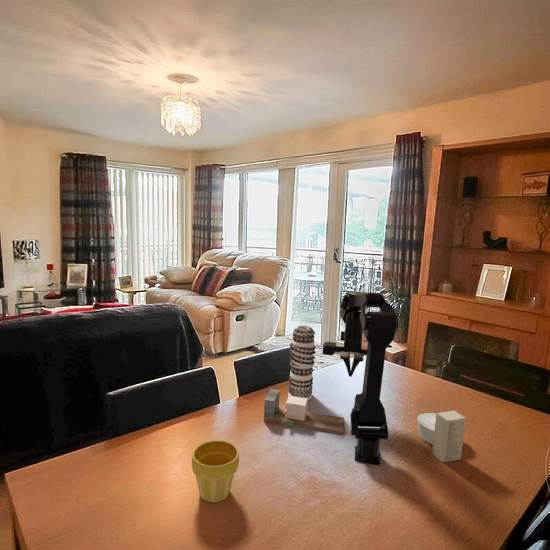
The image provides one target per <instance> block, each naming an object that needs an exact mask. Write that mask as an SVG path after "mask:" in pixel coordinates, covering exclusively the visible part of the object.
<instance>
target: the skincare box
mask: <svg viewBox="0 0 550 550" xmlns="http://www.w3.org/2000/svg"><path fill="white" fill-rule="evenodd" d="M466 420H467V418H466V417H465V416H464V415H462V414H461V413H459V412H457V410H447V411H440V412H436V422H435V431H434V440H433V445H432V450H431V454H432V455H433V456H434V457H436V458H437V460H439V461H440V462H441V463H449V462H452V461H453V462H454V461H458V460H461V459H462V452H463V445H464V435H465V429H466V427H465V426H466ZM448 461H449V462H448Z"/></svg>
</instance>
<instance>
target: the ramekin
mask: <svg viewBox="0 0 550 550" xmlns="http://www.w3.org/2000/svg"><path fill="white" fill-rule="evenodd" d="M436 413H437V412H436ZM436 413H435V412H425V413H421V414H419V415H418V416H417V419H416V420H417V421H416V422H417V427H418V434H419V436H420V438H421V439H422V440H423V441H424V442H425V441H426V442H425V443H427V444H429V443H430V444H429V445H431V444H432V446H433V440H434V431H435V422H436Z"/></svg>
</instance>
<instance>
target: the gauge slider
mask: <svg viewBox="0 0 550 550" xmlns="http://www.w3.org/2000/svg"><path fill="white" fill-rule="evenodd" d="M308 401H309V400H308V398H301V397H294V396H287V400H286V402H285V411H284V414H285V418H288V419H294V420H300V421H305V417H306V414H307V412H308Z"/></svg>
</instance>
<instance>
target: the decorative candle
mask: <svg viewBox="0 0 550 550" xmlns="http://www.w3.org/2000/svg"><path fill="white" fill-rule="evenodd" d="M291 331H292V339H291V342H290V344H289V348H290V350H289V353H290V354H289V358H290V359H289V365H290V368H291V369H290V373H289V374H290V375H289V376H288V383H289V384H288V389H287V390H288V396H287V397H289V396H294V397H301V398H308V400H307V401H309V400H311V399H312V397H313V395H312V394H313V390H314V389H313V384H314V382H313V381H314V377H313V367H314V366H315V359H316V357H315V356H314V355H315V354H316V349H317V347H316V346H315V334H316V331H315V330H314V329H313V328H312V327H311V326H308V325H298V326H296V327H295V328H294V329H292V330H291Z"/></svg>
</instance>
